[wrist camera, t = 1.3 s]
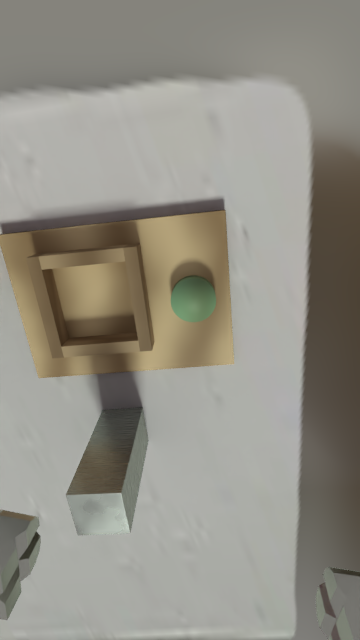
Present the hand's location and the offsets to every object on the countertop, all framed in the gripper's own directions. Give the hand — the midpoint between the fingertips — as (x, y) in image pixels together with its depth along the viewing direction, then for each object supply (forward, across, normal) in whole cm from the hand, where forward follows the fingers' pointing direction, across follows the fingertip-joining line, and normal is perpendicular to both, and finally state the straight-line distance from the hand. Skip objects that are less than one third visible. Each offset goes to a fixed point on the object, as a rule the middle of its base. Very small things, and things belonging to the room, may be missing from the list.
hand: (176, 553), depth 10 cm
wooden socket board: (+21, -7, 0) cm, 22 cm away
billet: (+21, -6, -13) cm, 25 cm away
